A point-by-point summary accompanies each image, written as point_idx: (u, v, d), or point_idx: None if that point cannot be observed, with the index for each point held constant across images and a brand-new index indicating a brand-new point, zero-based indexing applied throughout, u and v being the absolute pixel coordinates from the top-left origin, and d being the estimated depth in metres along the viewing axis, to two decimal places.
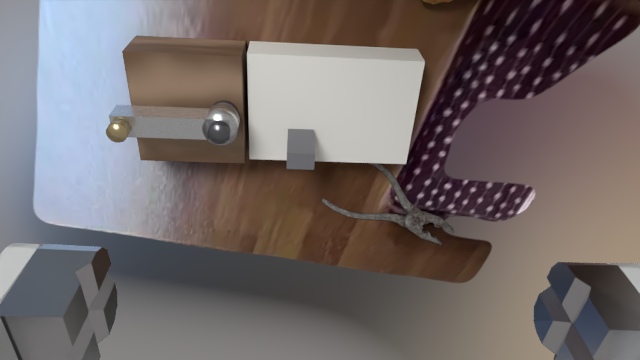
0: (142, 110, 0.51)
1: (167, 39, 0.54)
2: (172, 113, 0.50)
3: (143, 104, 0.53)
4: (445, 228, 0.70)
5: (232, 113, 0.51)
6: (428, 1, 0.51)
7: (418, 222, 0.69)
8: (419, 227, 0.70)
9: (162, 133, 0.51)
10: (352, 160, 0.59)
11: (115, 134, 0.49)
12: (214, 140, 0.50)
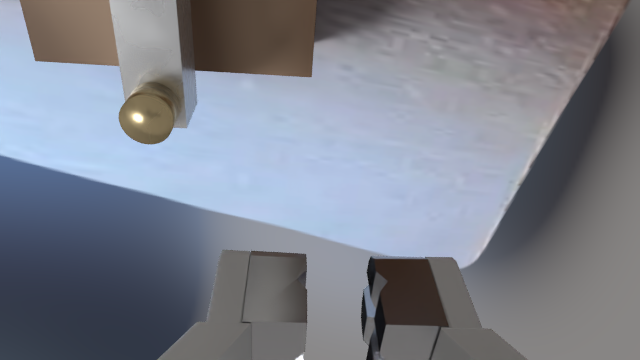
0: None
1: None
2: None
3: None
4: None
5: None
6: None
7: None
8: None
9: (160, 3, 0.18)
10: None
11: (148, 124, 0.19)
12: None
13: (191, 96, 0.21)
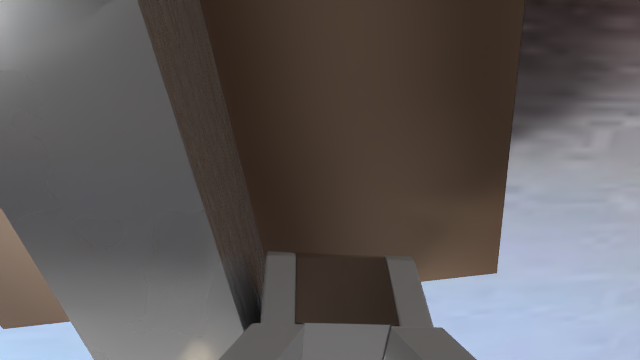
0: None
1: None
2: None
3: None
4: None
5: None
6: None
7: None
8: None
9: (198, 315, 0.07)
10: None
11: None
12: None
13: None
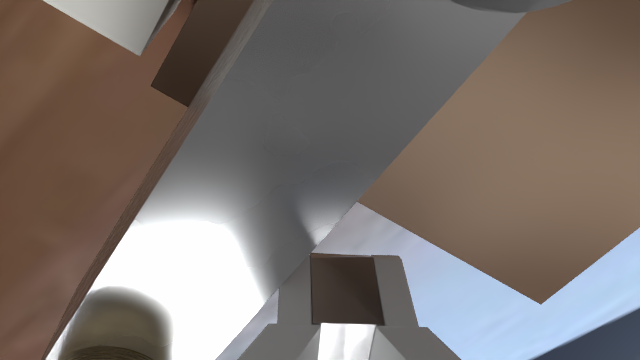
0: (116, 231, 0.09)
1: None
2: (197, 105, 0.07)
3: None
4: None
5: None
6: None
7: None
8: None
9: (267, 250, 0.07)
10: None
11: None
12: None
13: None
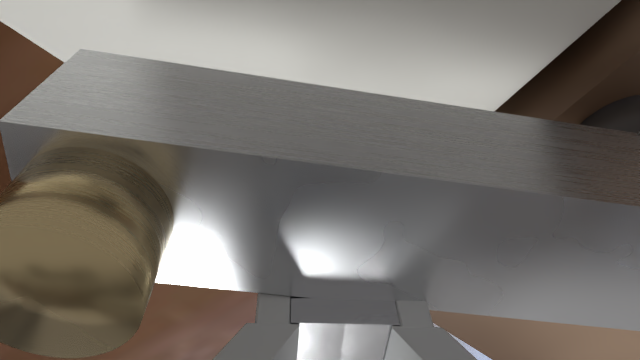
0: (261, 104, 0.07)
1: None
2: (472, 148, 0.07)
3: None
4: None
5: None
6: None
7: None
8: None
9: (385, 279, 0.07)
10: None
11: (36, 304, 0.05)
12: None
13: None
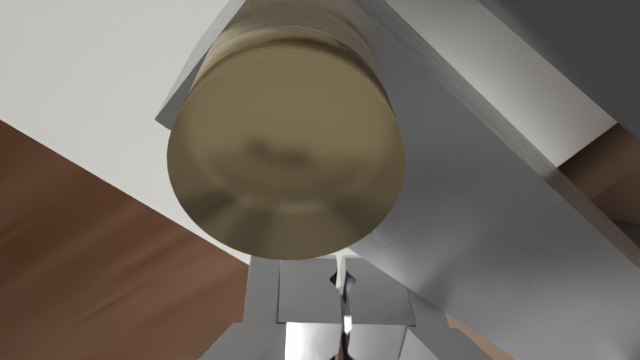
0: (455, 78, 0.07)
1: None
2: (591, 212, 0.08)
3: None
4: None
5: None
6: None
7: None
8: None
9: (477, 295, 0.07)
10: None
11: (268, 173, 0.04)
12: None
13: None
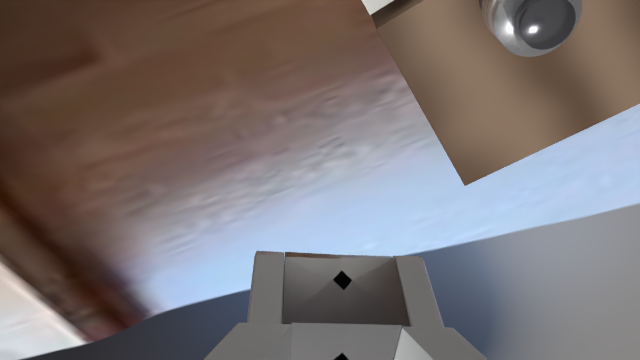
0: None
1: None
2: None
3: (548, 127, 0.29)
4: None
5: None
6: None
7: None
8: None
9: None
10: None
11: None
12: (529, 24, 0.20)
13: None
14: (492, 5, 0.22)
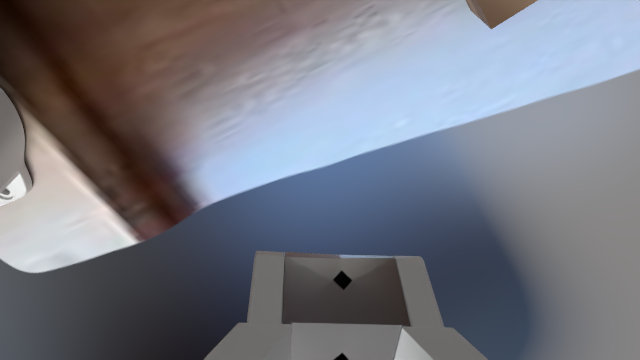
0: None
1: None
2: None
3: None
4: None
5: None
6: None
7: None
8: None
9: None
10: None
11: None
12: None
13: None
14: None
